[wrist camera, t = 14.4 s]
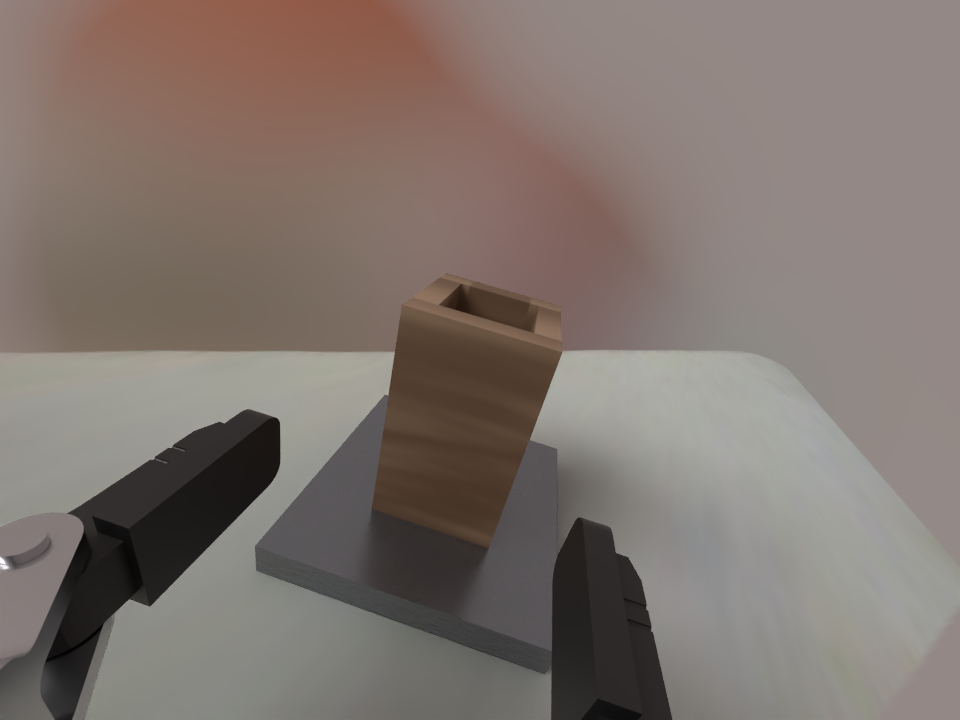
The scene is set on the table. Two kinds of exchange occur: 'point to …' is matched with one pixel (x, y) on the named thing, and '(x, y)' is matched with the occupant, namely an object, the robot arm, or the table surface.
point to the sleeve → (463, 404)
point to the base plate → (425, 554)
